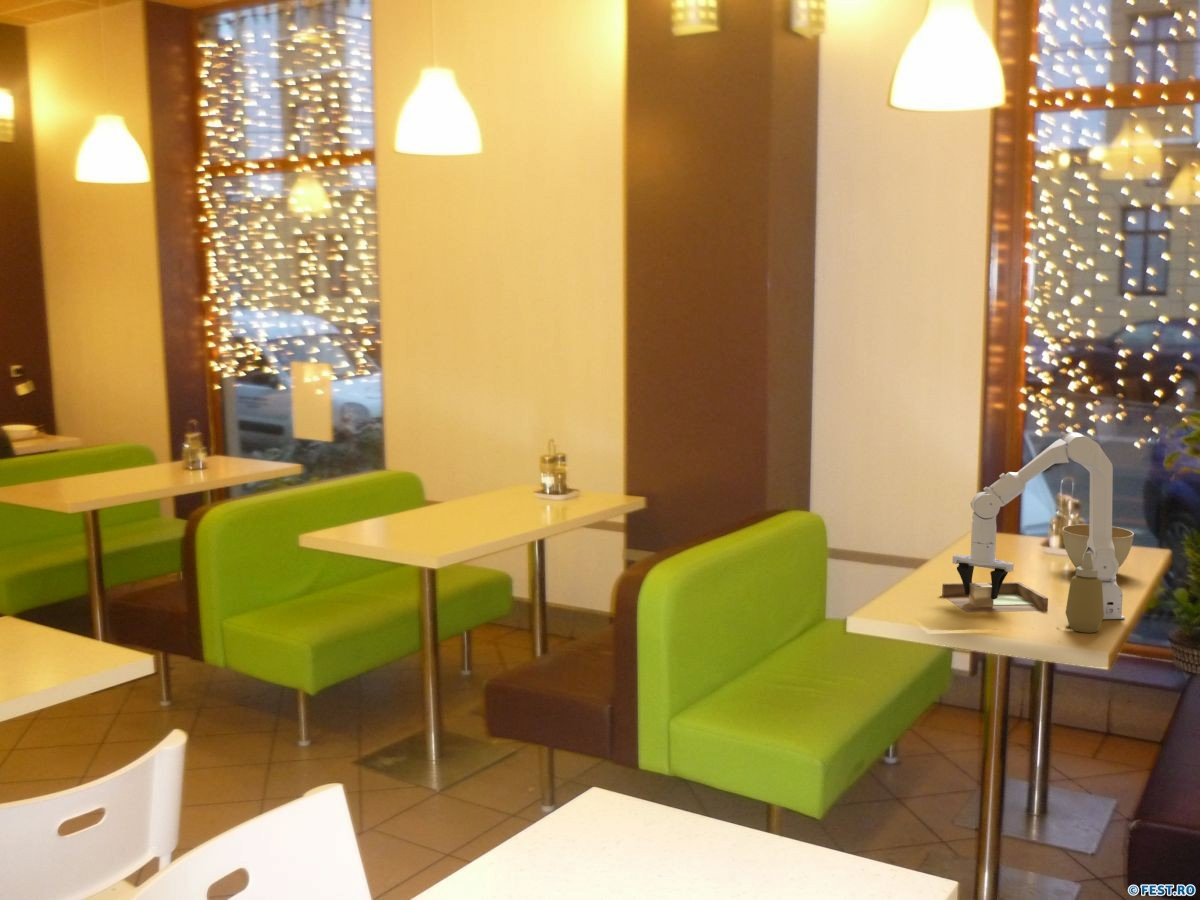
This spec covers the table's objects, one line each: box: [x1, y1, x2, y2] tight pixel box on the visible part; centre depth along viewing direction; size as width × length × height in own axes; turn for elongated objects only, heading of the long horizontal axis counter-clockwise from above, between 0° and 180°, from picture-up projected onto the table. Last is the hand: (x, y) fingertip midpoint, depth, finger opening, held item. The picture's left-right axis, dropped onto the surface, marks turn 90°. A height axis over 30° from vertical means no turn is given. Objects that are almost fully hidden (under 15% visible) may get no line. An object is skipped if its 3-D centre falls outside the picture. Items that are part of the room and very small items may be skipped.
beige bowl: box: [1062, 524, 1135, 569], centre depth 312 cm, size 18×18×12 cm
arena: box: [941, 581, 1049, 613], centre depth 279 cm, size 16×20×4 cm
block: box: [969, 582, 993, 607], centre depth 277 cm, size 4×4×5 cm
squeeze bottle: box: [1065, 552, 1104, 633], centre depth 257 cm, size 8×8×18 cm
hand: (981, 596), depth 277 cm, fingers closed on block, 6 cm apart
